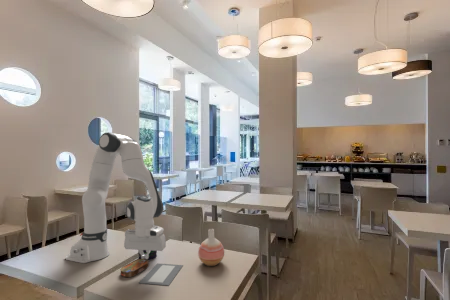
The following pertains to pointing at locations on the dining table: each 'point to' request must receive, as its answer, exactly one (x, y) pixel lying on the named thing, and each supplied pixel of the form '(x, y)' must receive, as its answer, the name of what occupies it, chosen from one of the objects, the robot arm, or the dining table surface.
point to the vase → (211, 250)
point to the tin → (134, 267)
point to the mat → (161, 274)
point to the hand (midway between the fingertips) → (145, 258)
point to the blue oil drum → (151, 254)
